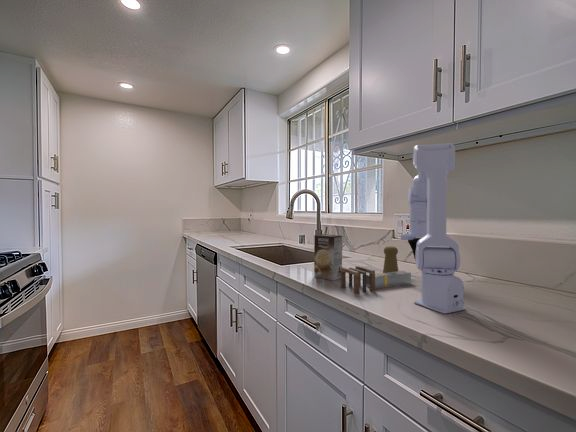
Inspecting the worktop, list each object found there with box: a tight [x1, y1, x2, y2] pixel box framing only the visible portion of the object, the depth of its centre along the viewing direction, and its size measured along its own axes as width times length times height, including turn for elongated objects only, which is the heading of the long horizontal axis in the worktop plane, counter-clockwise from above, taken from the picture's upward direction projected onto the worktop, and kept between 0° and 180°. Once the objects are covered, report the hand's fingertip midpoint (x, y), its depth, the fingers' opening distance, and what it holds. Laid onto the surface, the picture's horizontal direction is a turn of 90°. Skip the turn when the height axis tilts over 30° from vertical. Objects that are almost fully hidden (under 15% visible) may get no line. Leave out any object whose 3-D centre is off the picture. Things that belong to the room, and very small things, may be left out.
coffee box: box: [313, 233, 343, 281], centre depth 110 cm, size 9×6×16 cm
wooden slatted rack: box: [339, 265, 376, 295], centre depth 93 cm, size 8×7×6 cm
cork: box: [382, 246, 399, 273], centre depth 114 cm, size 6×6×11 cm
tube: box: [366, 270, 412, 290], centre depth 99 cm, size 16×4×4 cm, turn 113°
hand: (418, 259), depth 104 cm, fingers closed
